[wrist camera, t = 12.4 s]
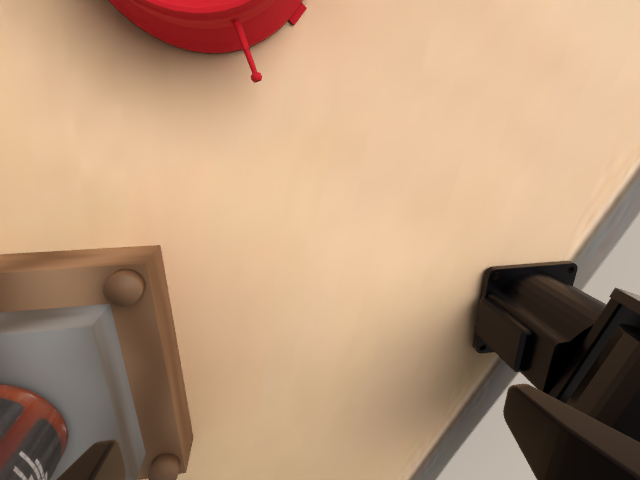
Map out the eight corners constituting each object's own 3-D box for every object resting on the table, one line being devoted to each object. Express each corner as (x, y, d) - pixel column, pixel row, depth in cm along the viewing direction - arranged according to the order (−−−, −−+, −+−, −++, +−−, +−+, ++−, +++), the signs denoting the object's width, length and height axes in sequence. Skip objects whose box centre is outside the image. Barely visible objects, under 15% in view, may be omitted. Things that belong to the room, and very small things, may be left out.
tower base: (160, 245, 19) (131, 281, 15) (193, 437, 24) (178, 506, 20) (-143, 262, 17) (-276, 311, 13) (-41, 469, 22) (-114, 554, 17)
